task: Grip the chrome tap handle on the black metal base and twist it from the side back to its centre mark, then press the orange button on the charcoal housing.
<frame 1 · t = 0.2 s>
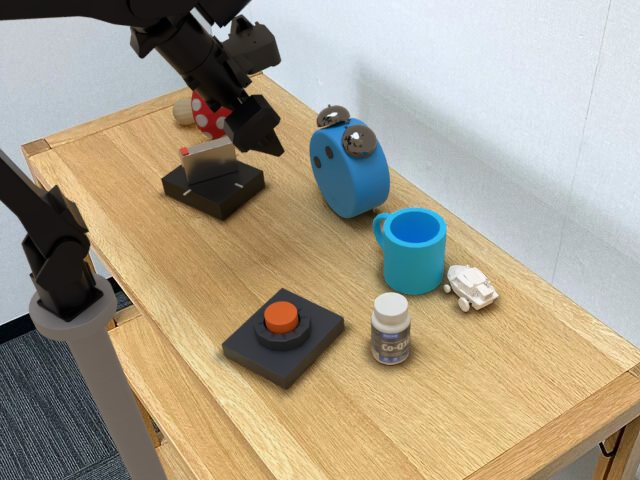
hand: (268, 135, 100), 15 cm above the table, tool tilted 30°, fingers open, 9 cm apart
pill bottle: (390, 352, 94), on the table
button box: (285, 342, 95), on the table
mug: (403, 268, 104), on the table
start button: (281, 317, 92), point 4 cm above the table, slide at 0.1 cm
tap handle: (208, 159, 113), point 6 cm above the table, hinge at 60.0°
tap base: (215, 190, 117), on the table
decorative mushroom: (214, 129, 129), on the table
toy car: (467, 295, 100), on the table
alarm clock: (350, 207, 113), on the table
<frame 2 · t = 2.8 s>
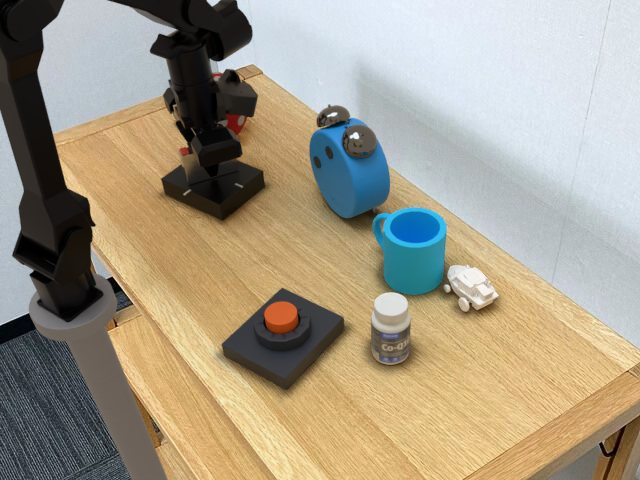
hand: (211, 171, 115), 4 cm above the table, tool pointing down, fingers closed on tap handle, 2 cm apart
tap handle: (208, 159, 113), point 6 cm above the table, hinge at 60.0°, touching gripper
everything else where it was.
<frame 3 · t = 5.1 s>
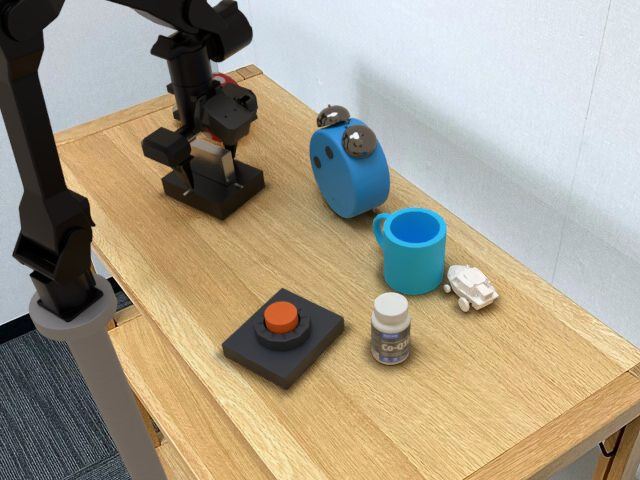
hand: (211, 172, 115), 3 cm above the table, tool pointing down, fingers open, 9 cm apart
tap handle: (208, 159, 113), point 6 cm above the table, hinge at 0.2°
everything else where it was.
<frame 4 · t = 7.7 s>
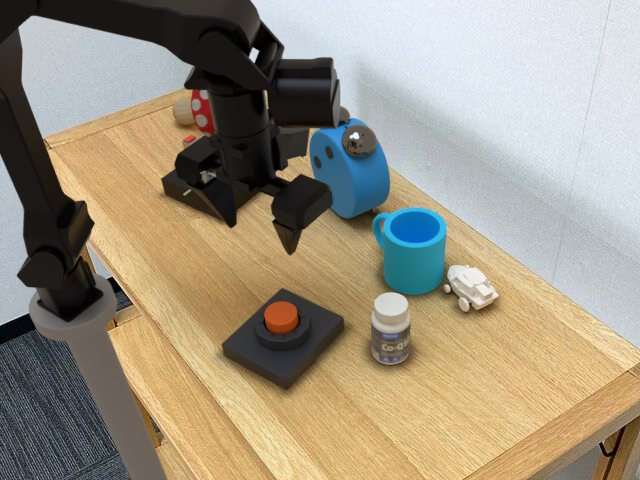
hand: (261, 239, 90), 12 cm above the table, tool pointing down, fingers open, 9 cm apart
nothing on the table moved.
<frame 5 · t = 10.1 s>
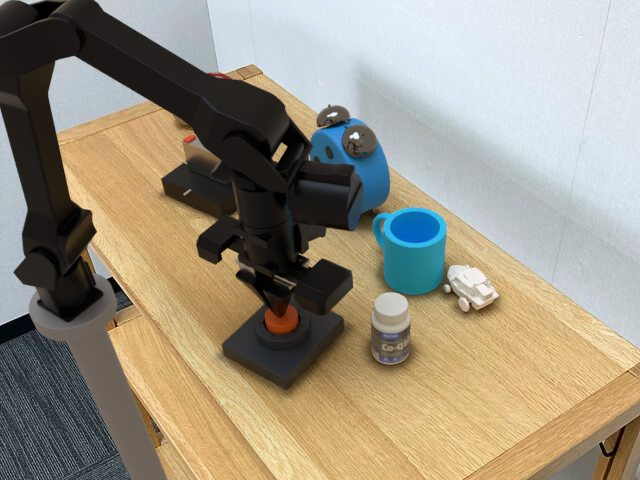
hand: (280, 314, 92), 5 cm above the table, tool pointing down, fingers closed, pressing on start button
start button: (281, 319, 92), point 4 cm above the table, slide at -0.2 cm, touching gripper
everything else where it was.
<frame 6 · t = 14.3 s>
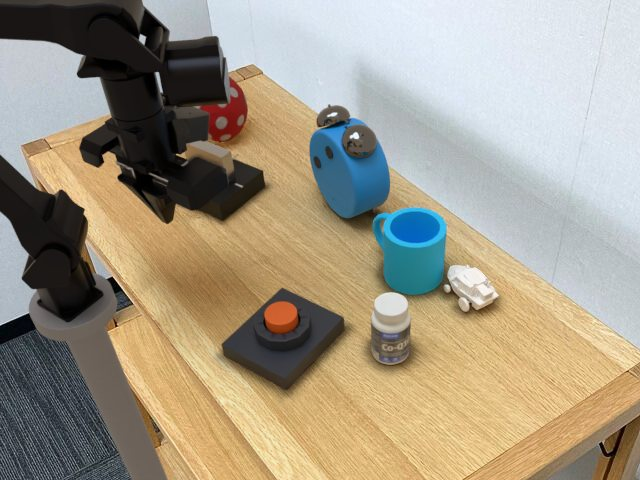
hand: (168, 221, 93), 12 cm above the table, tool pointing down, fingers closed
start button: (281, 317, 92), point 4 cm above the table, slide at 0.1 cm
everything else where it was.
at the end: tap handle at +0° (first picture: +60°); start button pushed in 1.1 cm at the most during the clip, back to where it started at the end; start button slide at 0.1 cm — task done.
